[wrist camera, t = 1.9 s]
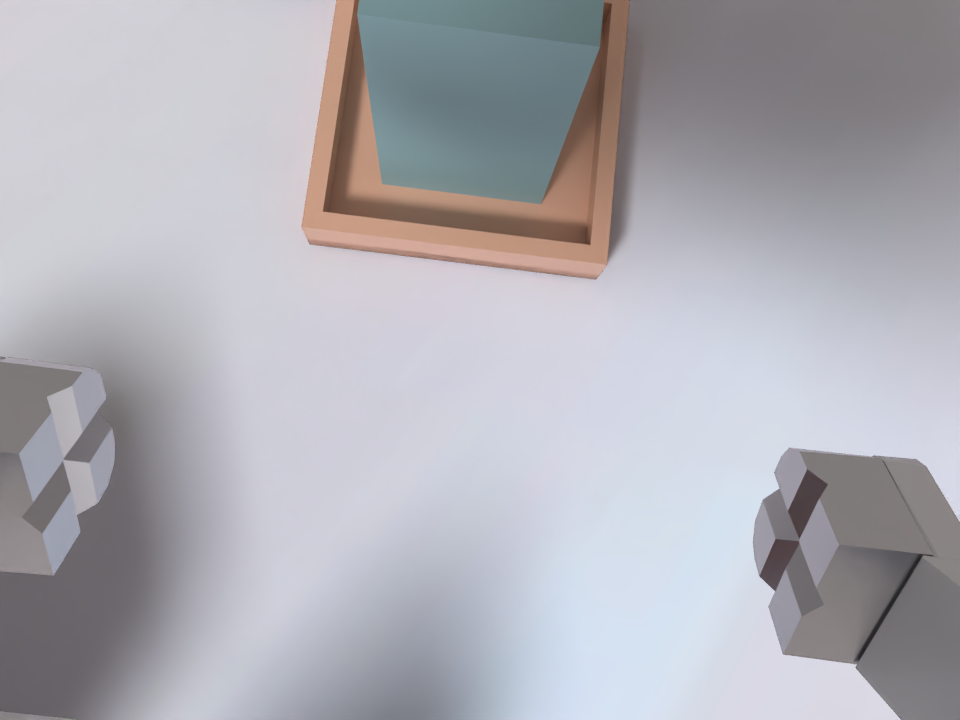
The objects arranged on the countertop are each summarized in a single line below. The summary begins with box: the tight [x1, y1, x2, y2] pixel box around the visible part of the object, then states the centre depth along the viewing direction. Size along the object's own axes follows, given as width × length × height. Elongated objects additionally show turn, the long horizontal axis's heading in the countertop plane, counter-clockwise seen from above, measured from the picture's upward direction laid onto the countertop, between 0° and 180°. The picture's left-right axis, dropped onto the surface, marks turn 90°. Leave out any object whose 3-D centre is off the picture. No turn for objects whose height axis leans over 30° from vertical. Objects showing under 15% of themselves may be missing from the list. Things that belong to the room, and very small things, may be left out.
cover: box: [357, 0, 604, 204], centre depth 23 cm, size 6×6×11 cm
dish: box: [302, 0, 630, 279], centre depth 28 cm, size 10×10×3 cm
